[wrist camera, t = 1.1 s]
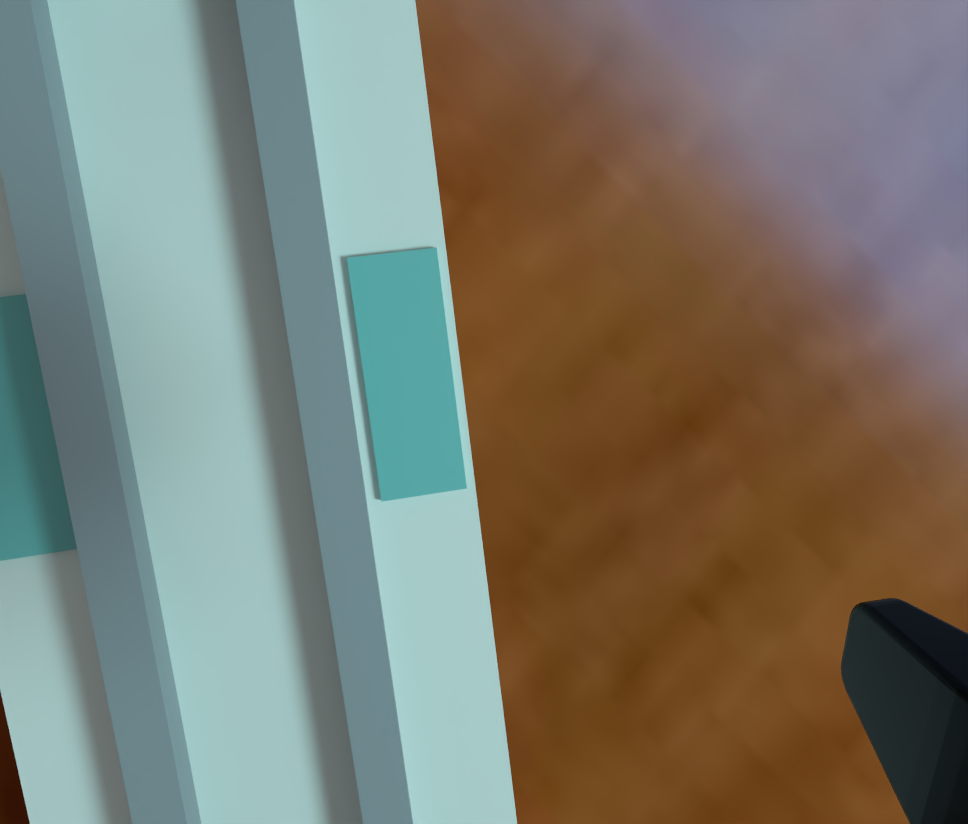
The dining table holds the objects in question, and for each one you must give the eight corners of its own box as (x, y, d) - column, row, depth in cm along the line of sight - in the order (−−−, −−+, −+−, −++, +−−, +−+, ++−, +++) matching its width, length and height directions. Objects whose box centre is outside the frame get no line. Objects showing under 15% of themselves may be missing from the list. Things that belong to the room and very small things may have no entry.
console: (523, 934, 21) (546, 1018, 18) (109, 1030, 19) (73, 1137, 17) (368, -303, 17) (371, -407, 14) (-176, -293, 15) (-278, -407, 13)
